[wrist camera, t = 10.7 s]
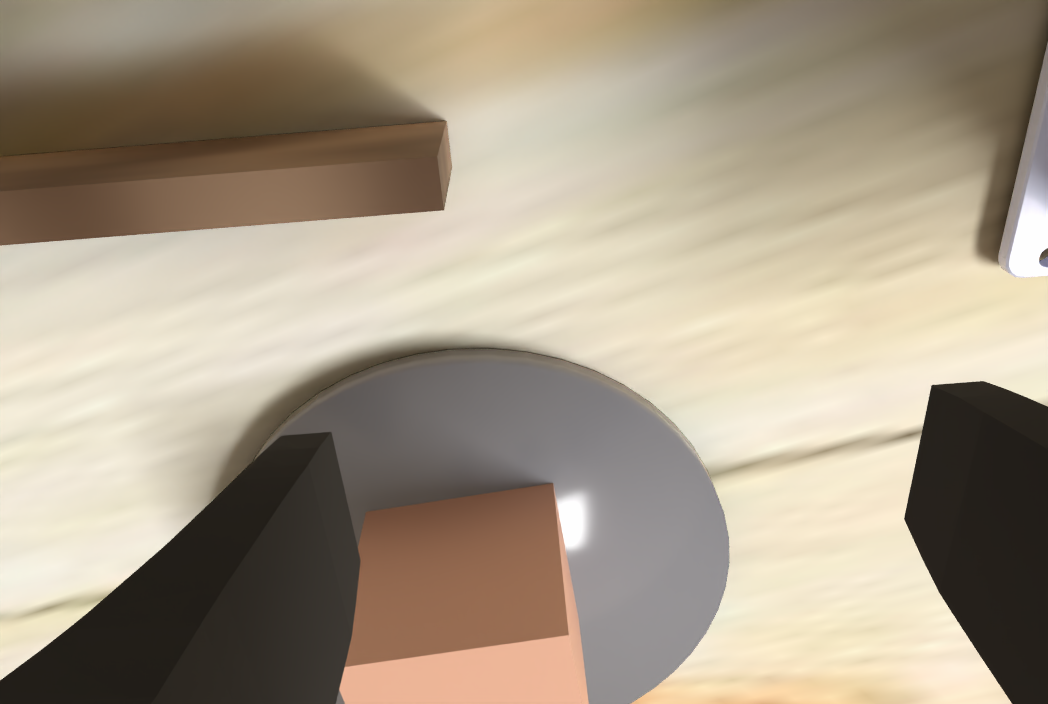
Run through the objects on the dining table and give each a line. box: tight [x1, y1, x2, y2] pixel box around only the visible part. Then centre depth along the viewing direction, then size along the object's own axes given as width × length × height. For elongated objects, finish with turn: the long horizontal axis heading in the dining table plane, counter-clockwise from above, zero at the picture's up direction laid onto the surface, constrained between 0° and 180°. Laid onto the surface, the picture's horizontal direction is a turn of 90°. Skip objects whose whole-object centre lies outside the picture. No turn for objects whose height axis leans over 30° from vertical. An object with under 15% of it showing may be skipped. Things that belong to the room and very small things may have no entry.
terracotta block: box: [339, 483, 589, 704], centre depth 19 cm, size 5×5×5 cm
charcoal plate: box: [253, 348, 729, 704], centre depth 22 cm, size 14×14×1 cm
